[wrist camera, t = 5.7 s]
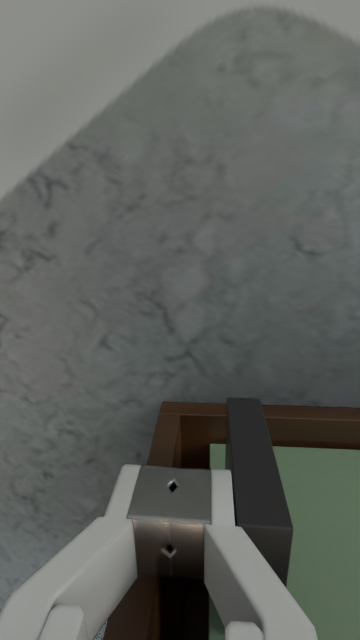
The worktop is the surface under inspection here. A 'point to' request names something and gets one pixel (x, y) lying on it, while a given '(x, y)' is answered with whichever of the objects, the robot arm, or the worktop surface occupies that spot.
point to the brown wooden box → (194, 452)
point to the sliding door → (296, 518)
